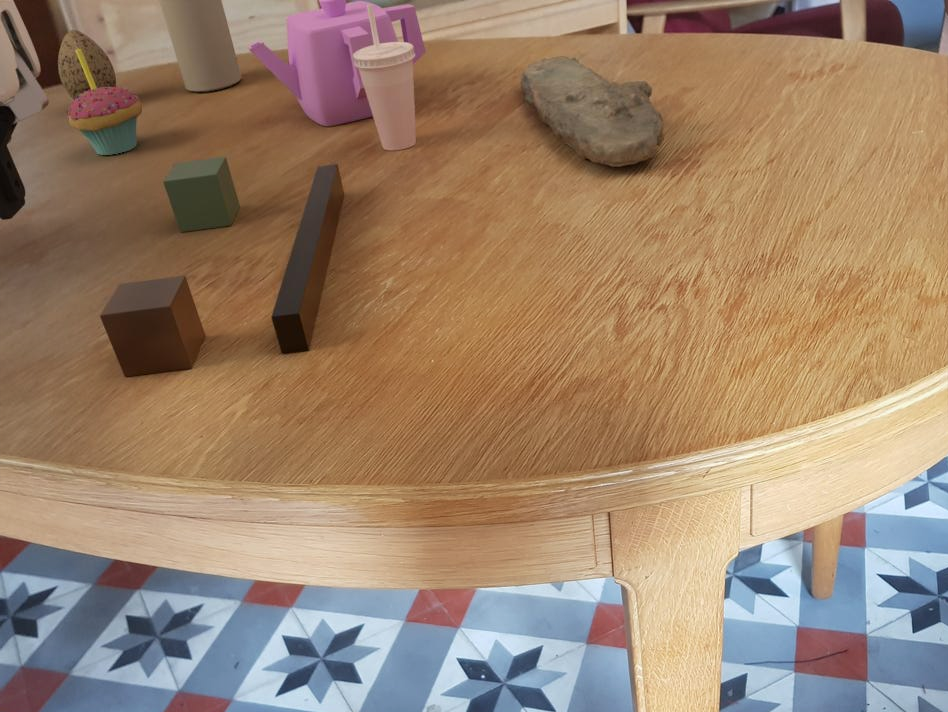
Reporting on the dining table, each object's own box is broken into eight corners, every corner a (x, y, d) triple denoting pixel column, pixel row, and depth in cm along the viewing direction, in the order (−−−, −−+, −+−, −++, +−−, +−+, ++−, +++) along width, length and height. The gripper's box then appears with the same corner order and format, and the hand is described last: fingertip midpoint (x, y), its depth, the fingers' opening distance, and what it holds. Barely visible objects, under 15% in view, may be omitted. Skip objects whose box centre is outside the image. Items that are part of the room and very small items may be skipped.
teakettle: (383, 128, 108) (361, 10, 101) (259, 128, 114) (230, 17, 107) (443, 83, 120) (428, -25, 113) (328, 85, 126) (307, -17, 119)
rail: (281, 354, 68) (270, 316, 66) (324, 196, 93) (317, 166, 91) (309, 350, 68) (299, 313, 66) (344, 194, 93) (337, 163, 91)
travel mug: (190, 97, 130) (146, -50, 120) (183, 85, 137) (140, -56, 126) (246, 84, 132) (208, -62, 121) (237, 73, 138) (199, -67, 127)
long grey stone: (585, 85, 116) (507, 105, 115) (579, 39, 113) (499, 59, 112) (691, 157, 87) (588, 183, 87) (688, 98, 84) (580, 124, 84)
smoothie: (363, 143, 105) (336, 5, 96) (418, 130, 106) (396, -7, 98) (379, 159, 100) (352, 15, 91) (436, 145, 101) (415, 2, 93)
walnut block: (124, 377, 68) (99, 315, 65) (141, 343, 72) (118, 283, 69) (192, 368, 68) (169, 306, 65) (205, 335, 72) (185, 274, 69)
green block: (179, 232, 90) (162, 181, 87) (190, 212, 94) (174, 163, 91) (231, 226, 90) (215, 174, 87) (240, 206, 94) (225, 156, 91)
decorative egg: (83, 102, 136) (55, 27, 130) (131, 96, 135) (105, 20, 129) (65, 117, 130) (36, 40, 124) (115, 111, 130) (88, 33, 124)
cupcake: (71, 154, 116) (31, 49, 108) (135, 132, 120) (100, 30, 112) (100, 166, 110) (60, 57, 103) (166, 143, 114) (131, 37, 107)
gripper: (20, -133, 55) (130, 178, 66) (-227, -94, 56) (-77, 207, 67) (-32, -120, 49) (99, 219, 60) (-308, -77, 50) (-128, 250, 61)
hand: (6, 212), depth 63 cm, fingers closed
